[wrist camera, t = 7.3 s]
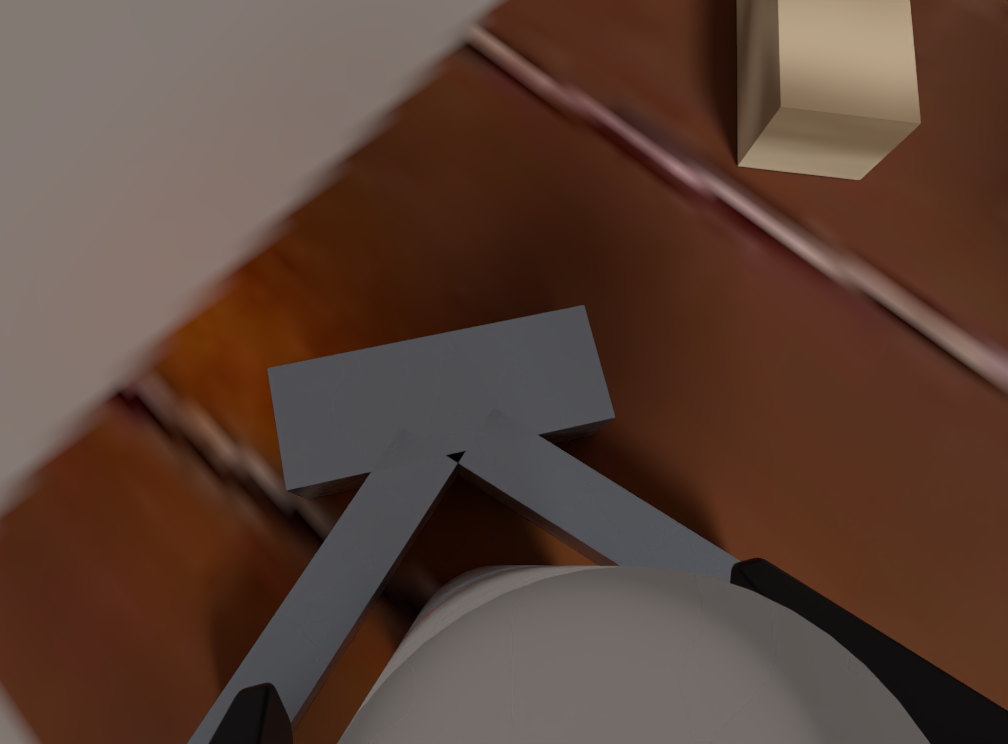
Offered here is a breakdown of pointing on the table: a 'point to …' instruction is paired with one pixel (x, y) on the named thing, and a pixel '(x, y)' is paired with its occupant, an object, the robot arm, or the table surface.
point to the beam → (824, 84)
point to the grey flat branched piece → (442, 475)
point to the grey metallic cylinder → (620, 666)
